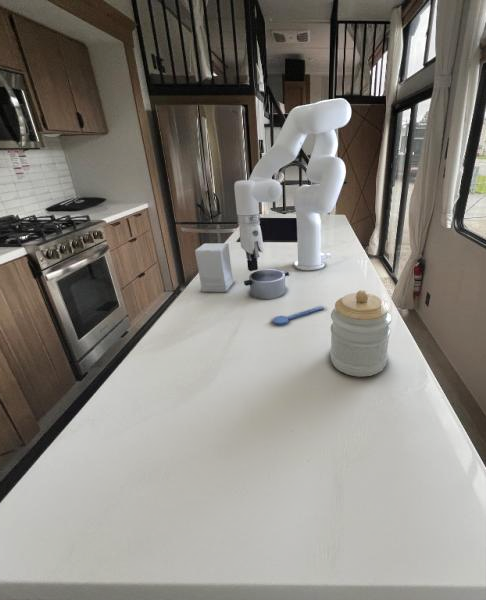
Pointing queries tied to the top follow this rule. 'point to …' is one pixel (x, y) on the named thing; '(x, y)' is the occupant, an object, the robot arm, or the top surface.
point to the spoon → (294, 316)
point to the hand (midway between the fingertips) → (252, 269)
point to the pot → (267, 283)
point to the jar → (360, 334)
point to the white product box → (214, 267)
